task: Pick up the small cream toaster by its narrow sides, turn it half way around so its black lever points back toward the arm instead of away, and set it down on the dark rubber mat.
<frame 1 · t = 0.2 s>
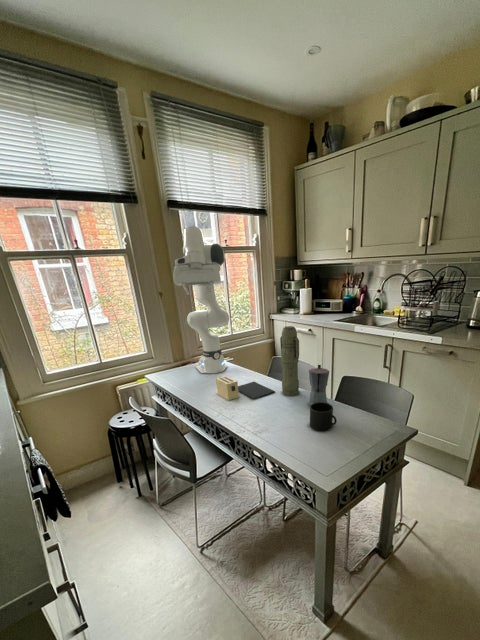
hand: (198, 293, 138), 54 cm above the table, tool tilted 30°, fingers open, 8 cm apart
toaster: (228, 395, 170), on the table
mug: (323, 427, 134), on the table
mat: (253, 390, 174), on the table
moka pot: (318, 405, 154), on the table
thermos: (290, 393, 169), on the table
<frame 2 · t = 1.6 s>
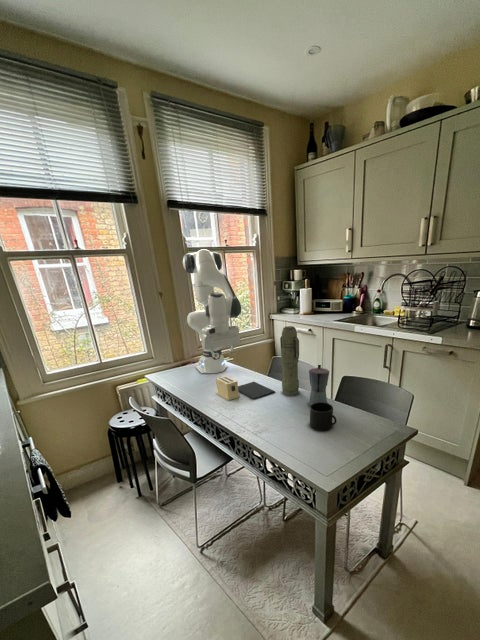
hand: (223, 355, 160), 23 cm above the table, tool pointing down, fingers open, 8 cm apart
nothing on the table moved.
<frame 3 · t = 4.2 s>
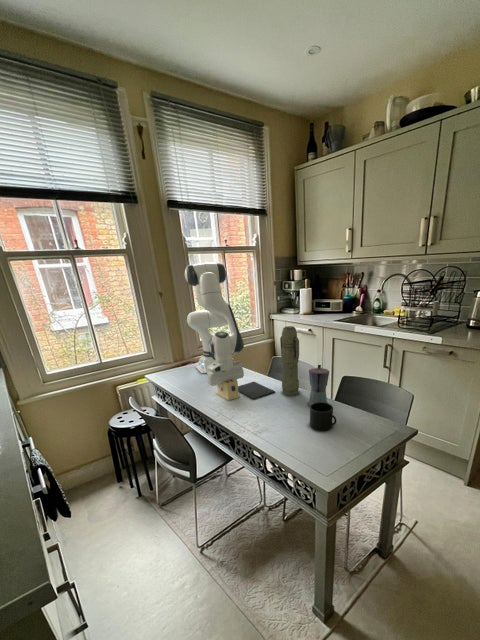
hand: (227, 389, 168), 4 cm above the table, tool pointing down, fingers closed on toaster, 6 cm apart
toaster: (228, 395, 170), on the table, touching gripper
everything else where it was.
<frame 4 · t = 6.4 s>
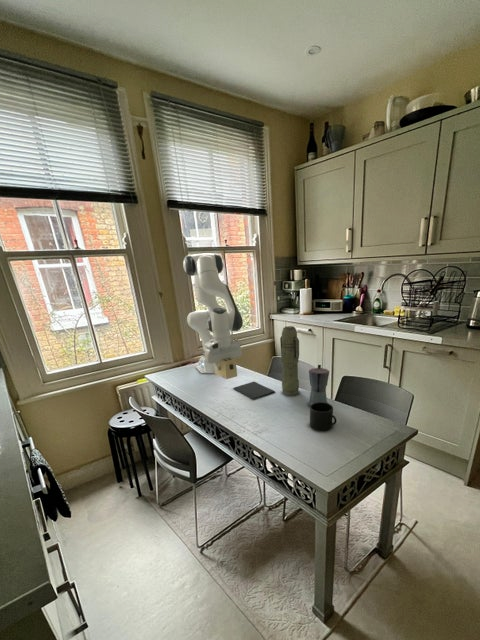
hand: (225, 368, 164), 15 cm above the table, tool pointing down, fingers closed on toaster, 6 cm apart
toaster: (225, 374, 165), point 12 cm above the table, touching gripper
everything else where it was.
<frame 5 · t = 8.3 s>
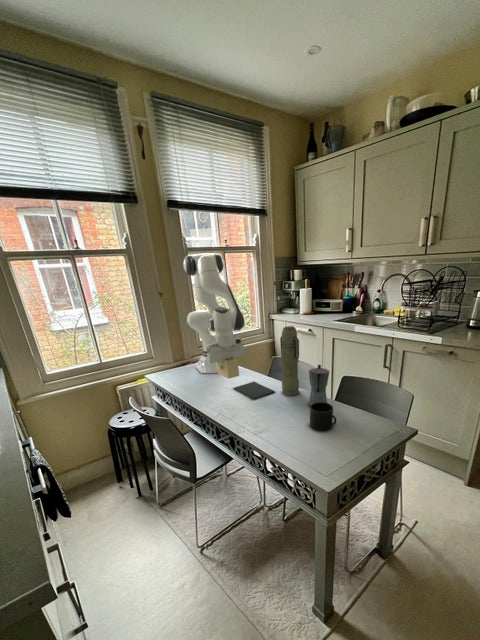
hand: (227, 367, 164), 15 cm above the table, tool pointing down, fingers closed on toaster, 6 cm apart
toaster: (228, 374, 166), point 12 cm above the table, touching gripper
everything else where it was.
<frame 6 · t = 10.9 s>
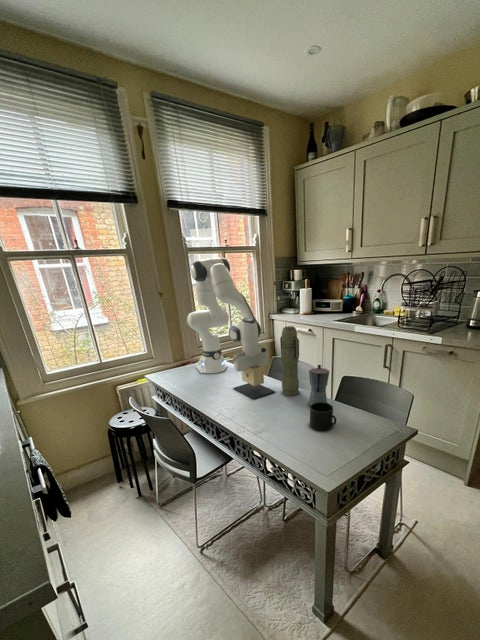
hand: (252, 375, 171), 9 cm above the table, tool pointing down, fingers closed on toaster, 6 cm apart
toaster: (252, 381, 172), point 5 cm above the table, touching gripper
everything else where it was.
when the fingers open (4 cm above the table, at t = 12.7 s): toaster stays where it is, resting on mat.
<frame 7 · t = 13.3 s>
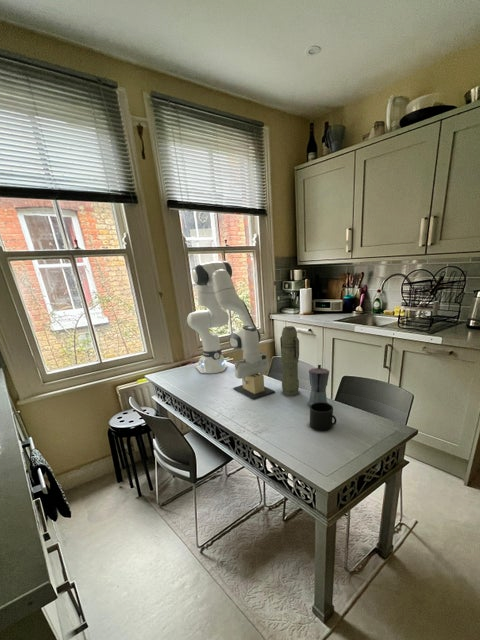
hand: (253, 381, 172), 5 cm above the table, tool pointing down, fingers open, 8 cm apart
toaster: (253, 389, 174), point 1 cm above the table, touching mat
everything else where it was.
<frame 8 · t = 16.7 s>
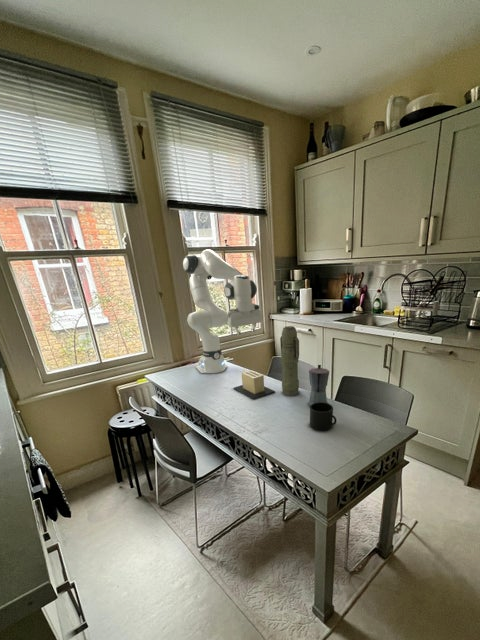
hand: (246, 333, 175), 29 cm above the table, tool pointing down, fingers open, 8 cm apart
nothing on the table moved.
at the end: toaster inside the target area on the mat (0.1 cm from its centre), point 0.8 cm above the mat's base; toaster tilted 0°; toaster moved 14.5 cm from its start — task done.
